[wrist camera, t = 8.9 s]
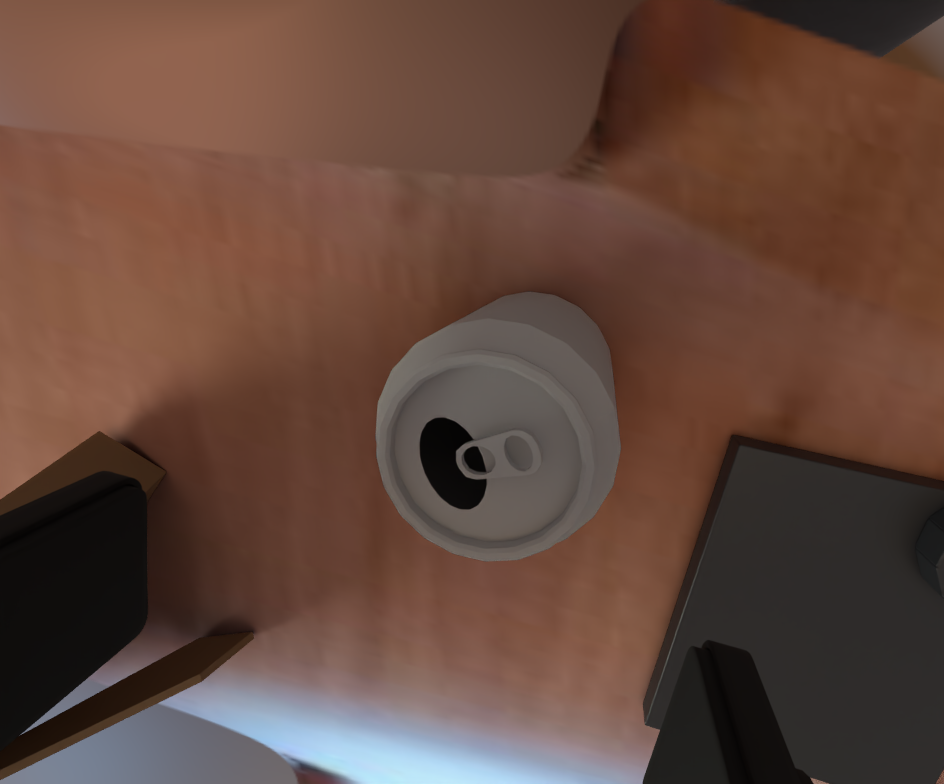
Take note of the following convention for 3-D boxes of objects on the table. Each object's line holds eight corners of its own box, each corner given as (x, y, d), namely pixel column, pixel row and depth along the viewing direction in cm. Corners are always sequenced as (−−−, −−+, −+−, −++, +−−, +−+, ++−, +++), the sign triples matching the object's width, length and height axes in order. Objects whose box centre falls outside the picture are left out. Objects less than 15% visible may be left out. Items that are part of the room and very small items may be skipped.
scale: (736, 420, 24) (754, 443, 22) (1069, 493, 22) (1138, 529, 19) (642, 704, 29) (647, 753, 27) (907, 786, 27) (943, 849, 24)
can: (434, 319, 26) (311, 375, 15) (584, 266, 24) (572, 285, 13) (485, 458, 28) (407, 606, 16) (632, 420, 25) (658, 559, 14)
